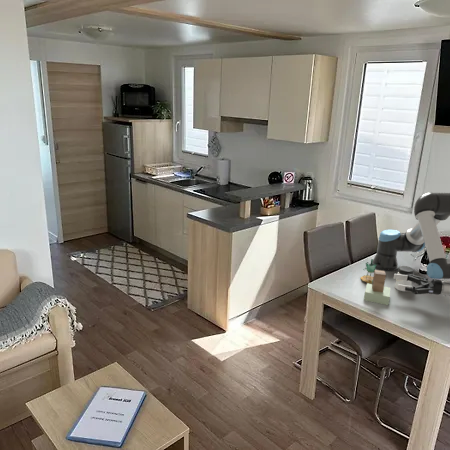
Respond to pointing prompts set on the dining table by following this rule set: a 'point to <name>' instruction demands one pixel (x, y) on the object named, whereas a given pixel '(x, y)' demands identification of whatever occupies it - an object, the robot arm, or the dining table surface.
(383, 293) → the sage block
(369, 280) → the green insect figurine
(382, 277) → the walnut block
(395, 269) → the robot arm
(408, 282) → the jar
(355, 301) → the dining table surface
